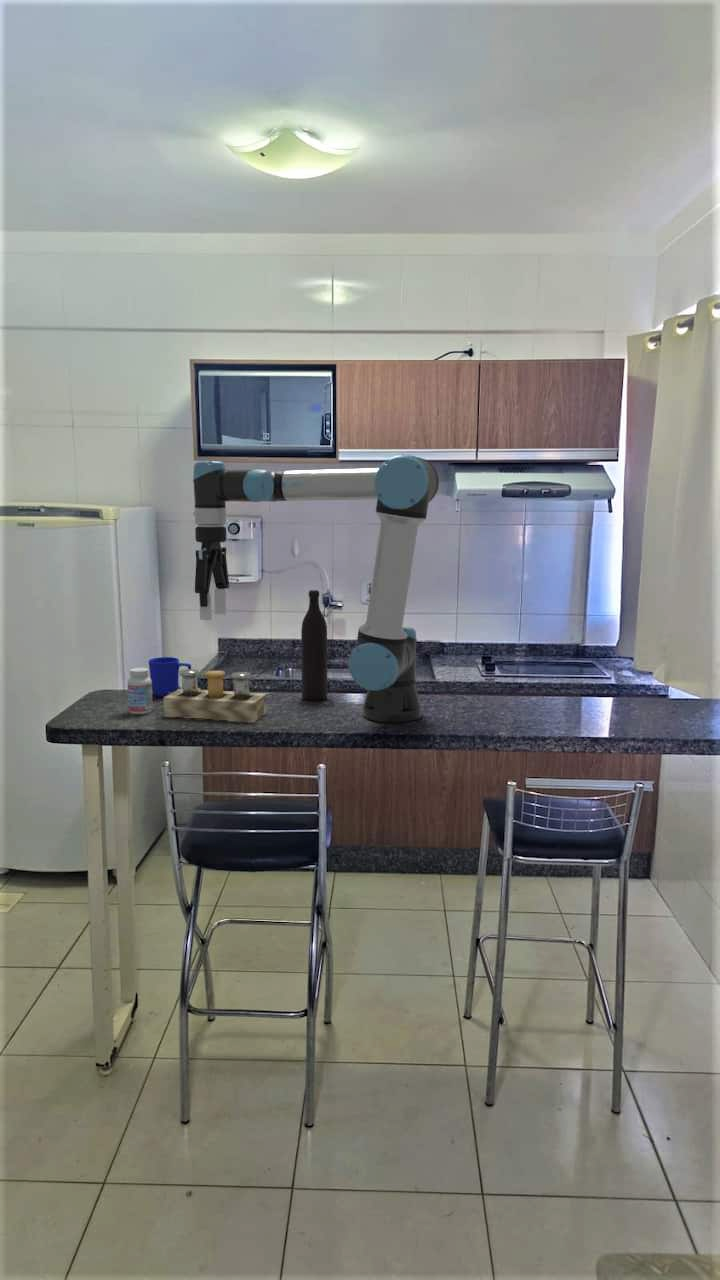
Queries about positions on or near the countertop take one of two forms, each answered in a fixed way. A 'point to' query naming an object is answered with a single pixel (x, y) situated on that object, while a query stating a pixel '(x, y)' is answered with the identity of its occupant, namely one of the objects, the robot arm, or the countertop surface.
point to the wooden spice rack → (216, 706)
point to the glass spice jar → (241, 685)
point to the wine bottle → (314, 651)
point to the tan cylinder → (215, 683)
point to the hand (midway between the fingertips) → (213, 616)
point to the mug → (165, 675)
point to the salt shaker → (189, 682)
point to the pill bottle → (139, 691)
